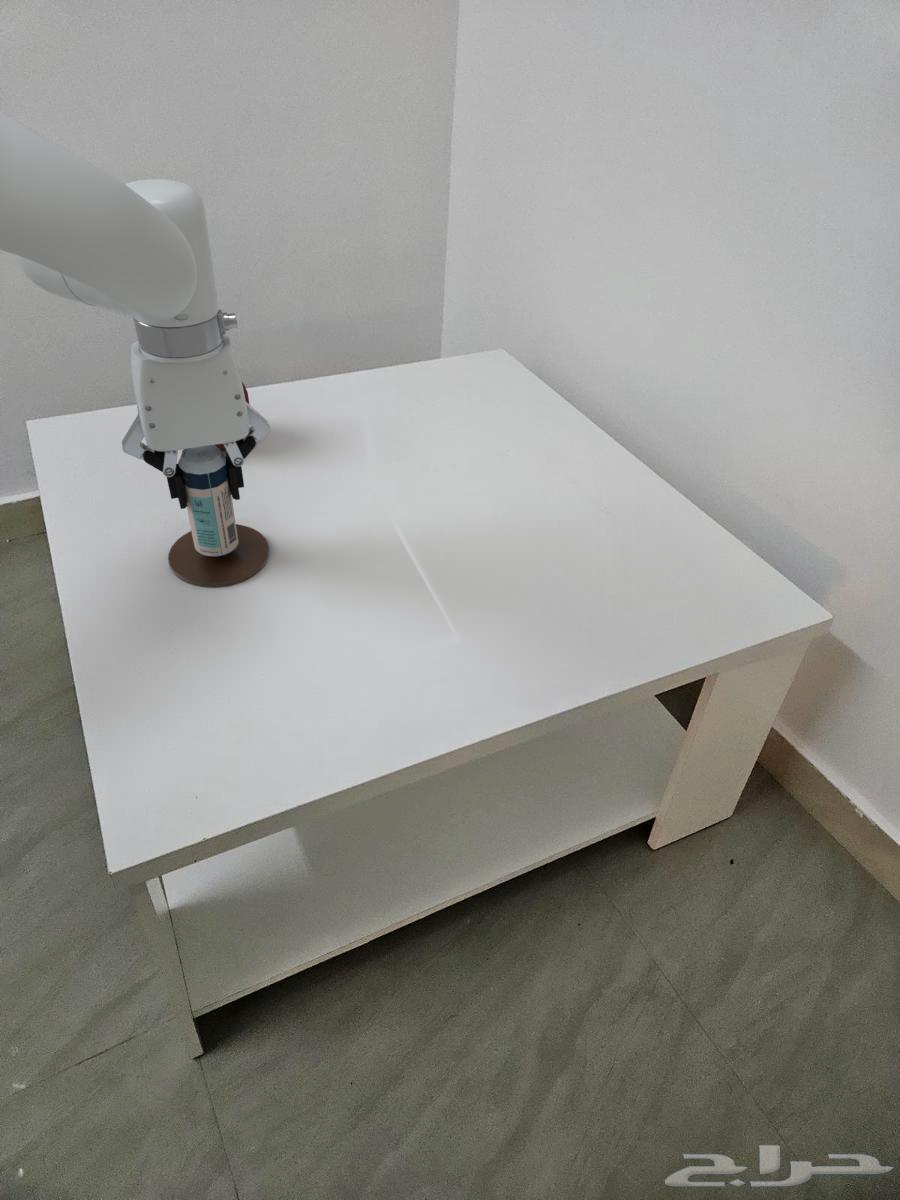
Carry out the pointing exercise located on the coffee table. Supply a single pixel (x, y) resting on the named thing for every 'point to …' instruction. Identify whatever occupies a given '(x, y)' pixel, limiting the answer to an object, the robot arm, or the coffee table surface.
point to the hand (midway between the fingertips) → (208, 495)
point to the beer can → (208, 500)
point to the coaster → (219, 560)
